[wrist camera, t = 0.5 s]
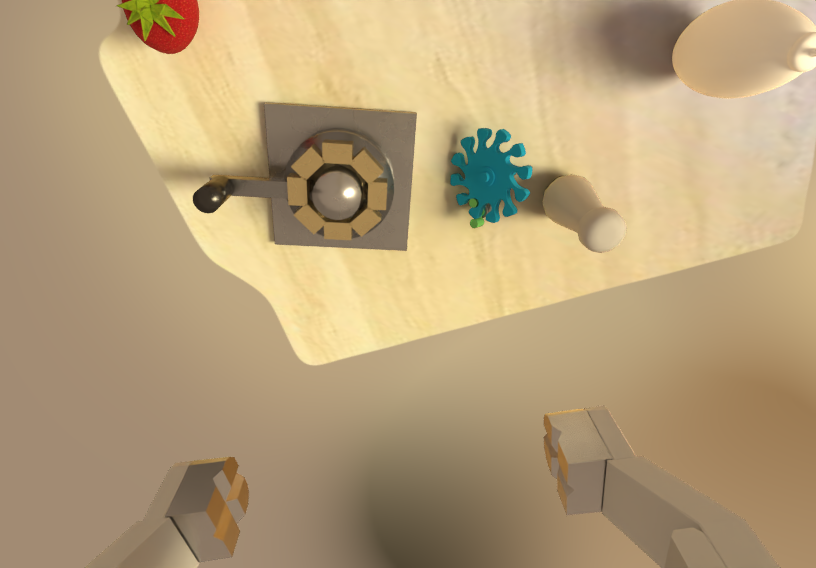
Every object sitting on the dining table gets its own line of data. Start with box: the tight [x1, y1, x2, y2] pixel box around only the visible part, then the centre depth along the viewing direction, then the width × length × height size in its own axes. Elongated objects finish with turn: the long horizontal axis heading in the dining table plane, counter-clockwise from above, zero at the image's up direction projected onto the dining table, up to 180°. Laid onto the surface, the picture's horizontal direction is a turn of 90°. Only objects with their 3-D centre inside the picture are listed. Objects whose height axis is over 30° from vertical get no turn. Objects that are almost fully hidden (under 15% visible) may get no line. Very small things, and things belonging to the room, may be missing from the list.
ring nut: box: [193, 139, 387, 240], centre depth 46 cm, size 10×18×6 cm, turn 86°
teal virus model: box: [450, 128, 532, 228], centre depth 50 cm, size 11×6×10 cm
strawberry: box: [117, 0, 199, 54], centre depth 39 cm, size 6×8×10 cm
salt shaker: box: [543, 174, 627, 253], centre depth 48 cm, size 6×6×13 cm
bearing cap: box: [264, 102, 417, 251], centre depth 49 cm, size 16×16×6 cm
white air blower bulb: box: [672, 0, 816, 98], centre depth 39 cm, size 8×8×18 cm
